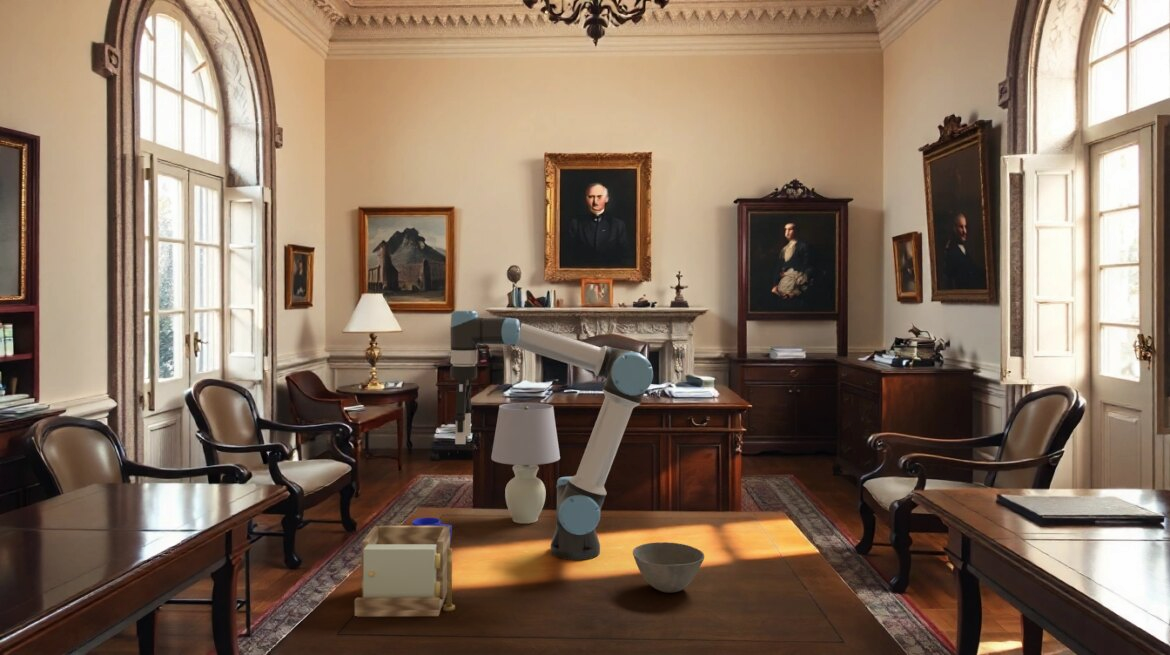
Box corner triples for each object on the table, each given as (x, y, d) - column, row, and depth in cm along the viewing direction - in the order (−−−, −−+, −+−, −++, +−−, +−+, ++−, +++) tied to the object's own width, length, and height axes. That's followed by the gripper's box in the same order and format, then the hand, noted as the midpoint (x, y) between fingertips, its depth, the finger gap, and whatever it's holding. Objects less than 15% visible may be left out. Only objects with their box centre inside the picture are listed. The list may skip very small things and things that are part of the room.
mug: (446, 560, 230) (446, 526, 230) (407, 557, 232) (408, 523, 232) (456, 551, 238) (456, 519, 238) (419, 548, 240) (419, 516, 240)
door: (441, 600, 195) (441, 544, 195) (438, 607, 190) (438, 550, 190) (367, 600, 194) (367, 544, 194) (362, 608, 189) (362, 550, 189)
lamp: (569, 515, 281) (570, 404, 280) (544, 533, 258) (545, 412, 257) (508, 508, 289) (509, 400, 288) (478, 525, 266) (479, 408, 265)
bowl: (618, 591, 207) (618, 553, 207) (658, 572, 222) (659, 537, 221) (677, 609, 195) (678, 569, 195) (716, 588, 210) (717, 551, 209)
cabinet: (462, 584, 210) (463, 525, 210) (452, 616, 189) (453, 550, 189) (374, 585, 209) (374, 525, 208) (354, 616, 188) (354, 550, 188)
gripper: (455, 361, 234) (455, 432, 235) (444, 368, 209) (443, 447, 210) (481, 361, 235) (480, 432, 235) (472, 368, 210) (472, 447, 210)
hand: (463, 439), depth 222 cm, fingers open, 13 cm apart
